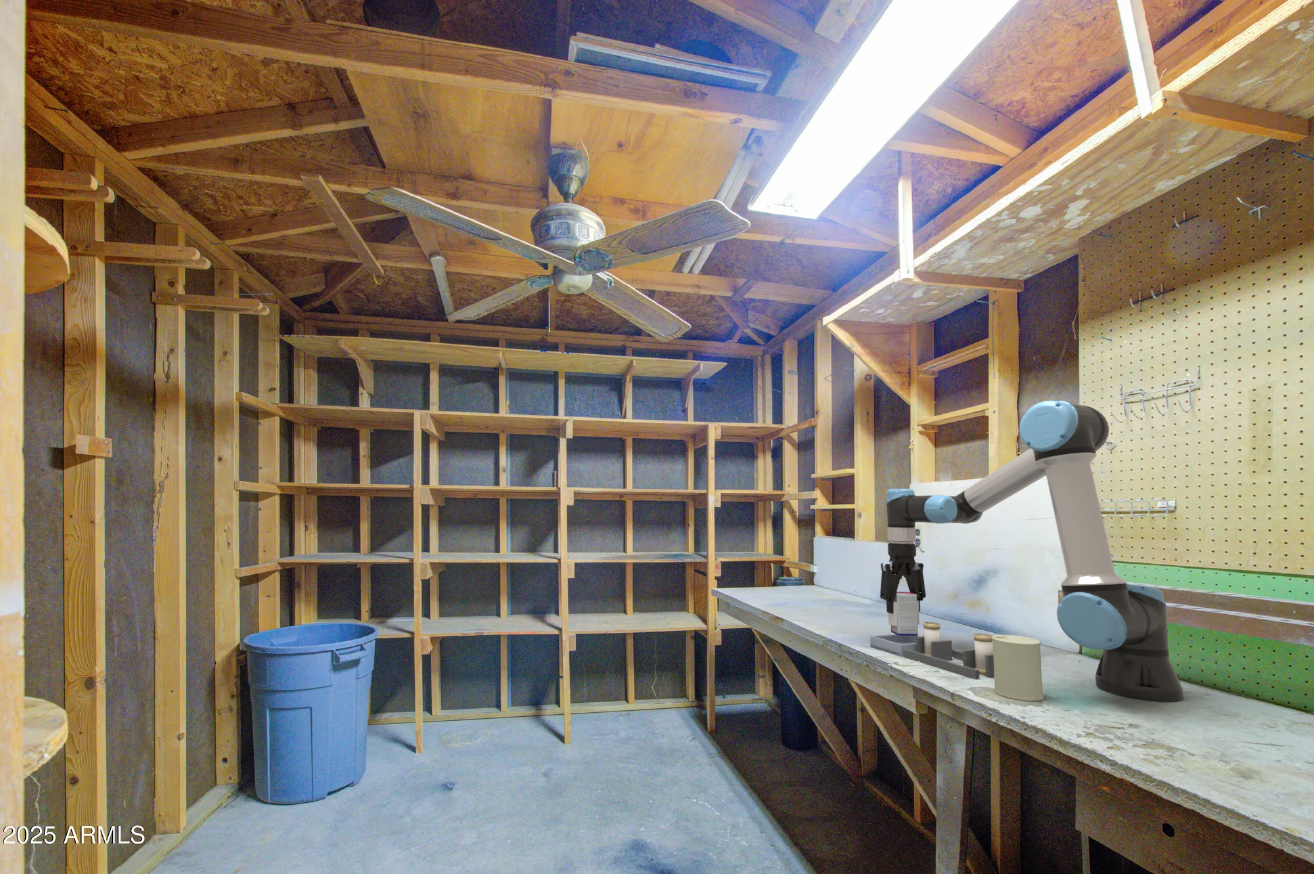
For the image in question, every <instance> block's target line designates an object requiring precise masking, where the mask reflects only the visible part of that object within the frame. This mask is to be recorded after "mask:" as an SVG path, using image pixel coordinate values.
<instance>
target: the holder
mask: <svg viewBox="0 0 1314 874" xmlns="http://www.w3.org/2000/svg"><path fill="white" fill-rule="evenodd" d="M924 652H925V648H924V635H923V636H922V635H921V636H920V637H916V652H915V651H912V650H909V649H904V656H903V657H904V658H905V657H906V659H909V660H912V659H913V661H915V662H918V661H920V662H919V663H921V662H922V663H921V664H925V663H926V664H925V665H928V666H932V667H934V668H937V667H938V668H937V669H942V670H945V671H948V672H951V673H954V674H957V675H961V676H964V677H967V678H971V679H973V680H980V674H979V670H977V669H975V667H976V664H975V648H970V649H962V650H959V649H955V648H953V640H951V639H946V640H941V641H931V656H929V655H926V654H924ZM952 657H954V658H952ZM953 659H956V660H959V659H961V660H960V661H962V662H963V663H962V664H963V665H962V664H960V663H956V662H953ZM948 660H950V661H948ZM985 661H986V678H989V679H990V678H991V679H992V678H994V658H993V654H991V655H985Z"/></svg>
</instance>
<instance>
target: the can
mask: <svg viewBox="0 0 1314 874" xmlns="http://www.w3.org/2000/svg"><path fill="white" fill-rule="evenodd" d="M992 642H993V658H994V677H993V678H994V681H993V682H994V688H993V691H994V693H996V694H997V695H999V696H1001V697H1003V698H1007V699H1011V700H1017V701H1024V702H1025V701H1026V702H1040V701H1043V700H1044V699H1045V696H1044V688H1043V676H1042V675H1043V674H1042V655H1041V654H1042V653H1041V641H1040V640H1038V639H1036V638H1032V637H1026V636H1023V635H1021V636H1020V635H1014V634H1013V635H1012V634H1011V635H1010V634H998V635H997V634H996V635H995V634H994V635H992Z"/></svg>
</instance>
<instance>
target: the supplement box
mask: <svg viewBox="0 0 1314 874" xmlns="http://www.w3.org/2000/svg"><path fill="white" fill-rule="evenodd" d="M890 597H891V596H890ZM894 602H897V624H898V626H893V625H890V632H891V633H893V634H896V635H898V636H919V624H918V617H917V595H916V594H913V593H910V591H897V593H896V596H895V600H894Z"/></svg>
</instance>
